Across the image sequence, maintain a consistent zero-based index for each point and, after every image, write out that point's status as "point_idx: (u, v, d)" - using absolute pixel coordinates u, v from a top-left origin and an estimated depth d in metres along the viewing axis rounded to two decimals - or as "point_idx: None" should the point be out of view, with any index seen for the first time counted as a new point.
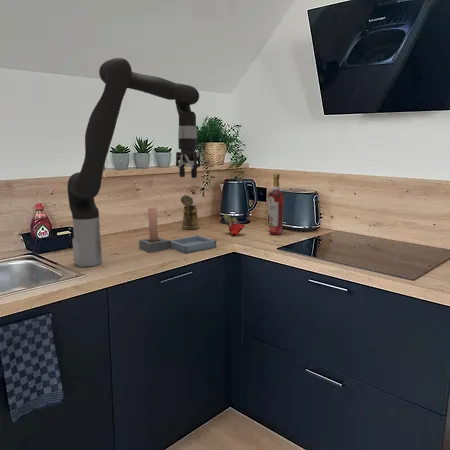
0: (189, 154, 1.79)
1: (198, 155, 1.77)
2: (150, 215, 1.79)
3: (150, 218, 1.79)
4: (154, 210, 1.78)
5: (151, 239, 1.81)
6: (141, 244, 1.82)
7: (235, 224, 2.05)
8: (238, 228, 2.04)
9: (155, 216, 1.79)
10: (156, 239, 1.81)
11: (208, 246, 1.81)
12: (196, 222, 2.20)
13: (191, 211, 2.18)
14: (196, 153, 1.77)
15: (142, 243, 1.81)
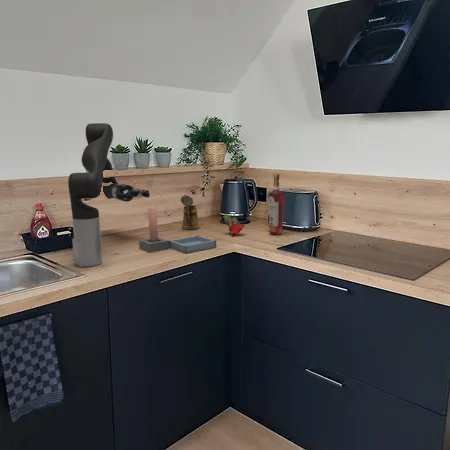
0: None
1: None
2: (150, 215, 1.79)
3: (150, 218, 1.79)
4: (154, 210, 1.78)
5: (151, 239, 1.81)
6: (141, 244, 1.82)
7: (235, 224, 2.05)
8: (238, 228, 2.04)
9: (155, 216, 1.79)
10: (156, 239, 1.81)
11: (208, 246, 1.81)
12: (196, 222, 2.20)
13: (191, 211, 2.18)
14: None
15: (142, 243, 1.81)
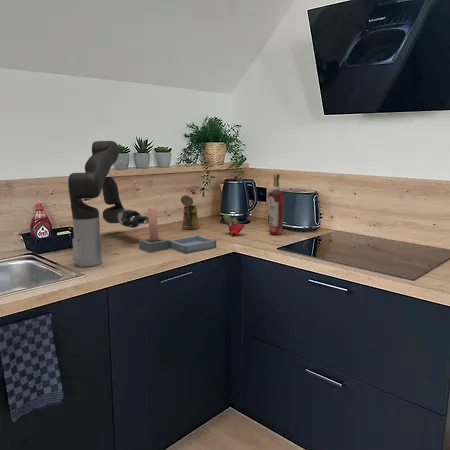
0: None
1: None
2: (150, 215, 1.79)
3: (150, 218, 1.79)
4: (154, 210, 1.78)
5: (151, 239, 1.81)
6: (141, 244, 1.82)
7: (235, 224, 2.05)
8: (238, 228, 2.04)
9: (155, 216, 1.79)
10: (156, 239, 1.81)
11: (208, 246, 1.81)
12: (196, 222, 2.20)
13: (191, 211, 2.18)
14: None
15: (142, 243, 1.81)
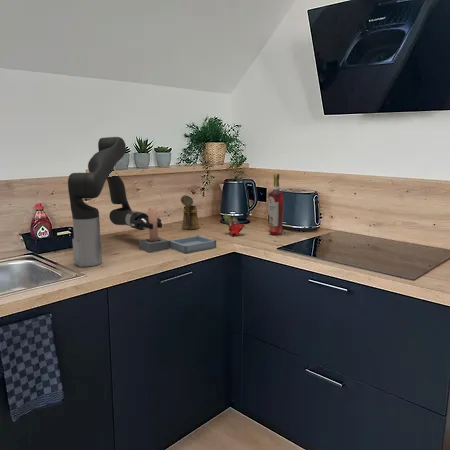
0: None
1: None
2: (150, 215, 1.79)
3: (150, 218, 1.79)
4: (154, 210, 1.78)
5: (151, 239, 1.81)
6: (141, 244, 1.82)
7: (235, 224, 2.05)
8: (238, 228, 2.04)
9: (155, 216, 1.79)
10: (156, 239, 1.81)
11: (208, 246, 1.81)
12: (196, 222, 2.20)
13: (191, 211, 2.18)
14: None
15: (142, 243, 1.81)
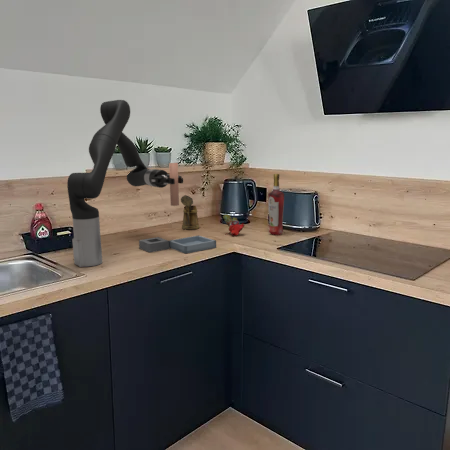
0: None
1: None
2: (171, 170, 1.76)
3: (171, 173, 1.76)
4: (175, 165, 1.76)
5: (172, 195, 1.78)
6: (141, 244, 1.82)
7: (235, 224, 2.05)
8: (238, 228, 2.04)
9: (176, 171, 1.77)
10: (177, 195, 1.79)
11: (208, 246, 1.81)
12: (196, 222, 2.20)
13: (191, 211, 2.18)
14: None
15: (142, 243, 1.81)
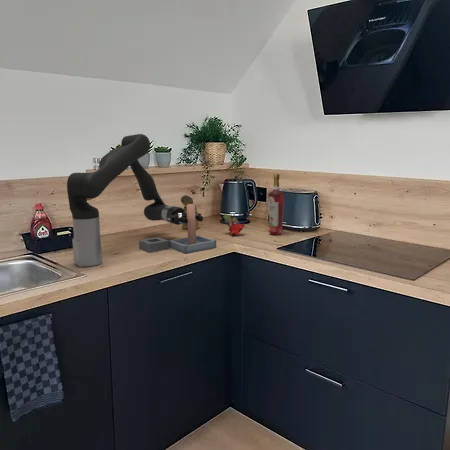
0: None
1: None
2: (189, 212, 1.79)
3: (189, 215, 1.80)
4: (193, 207, 1.79)
5: (189, 236, 1.81)
6: (141, 244, 1.82)
7: (235, 224, 2.05)
8: (238, 228, 2.04)
9: (193, 213, 1.80)
10: (194, 236, 1.82)
11: (208, 246, 1.81)
12: (196, 222, 2.20)
13: None
14: None
15: (142, 243, 1.81)
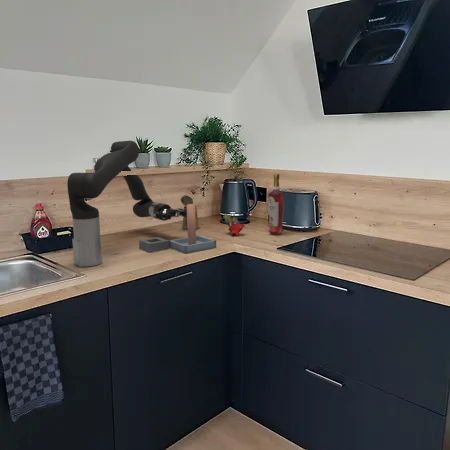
0: None
1: None
2: (189, 212, 1.79)
3: (189, 215, 1.79)
4: (193, 207, 1.79)
5: (189, 236, 1.81)
6: (141, 244, 1.82)
7: (235, 224, 2.05)
8: (238, 228, 2.04)
9: (194, 213, 1.80)
10: (194, 236, 1.82)
11: (208, 246, 1.81)
12: (196, 222, 2.20)
13: None
14: None
15: (142, 243, 1.81)
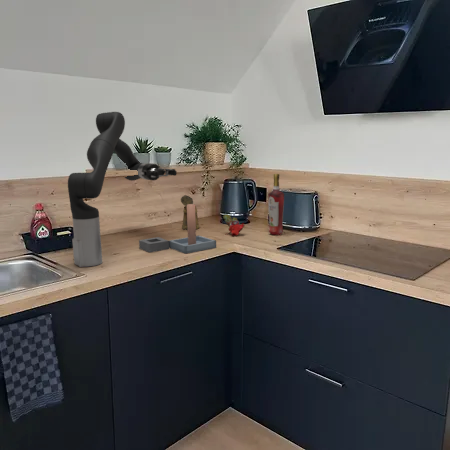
0: None
1: None
2: (189, 212, 1.79)
3: (189, 215, 1.79)
4: (193, 207, 1.79)
5: (189, 236, 1.81)
6: (141, 244, 1.82)
7: (235, 224, 2.05)
8: (238, 228, 2.04)
9: (194, 213, 1.80)
10: (194, 236, 1.82)
11: (208, 246, 1.81)
12: (196, 222, 2.20)
13: None
14: None
15: (142, 243, 1.81)
